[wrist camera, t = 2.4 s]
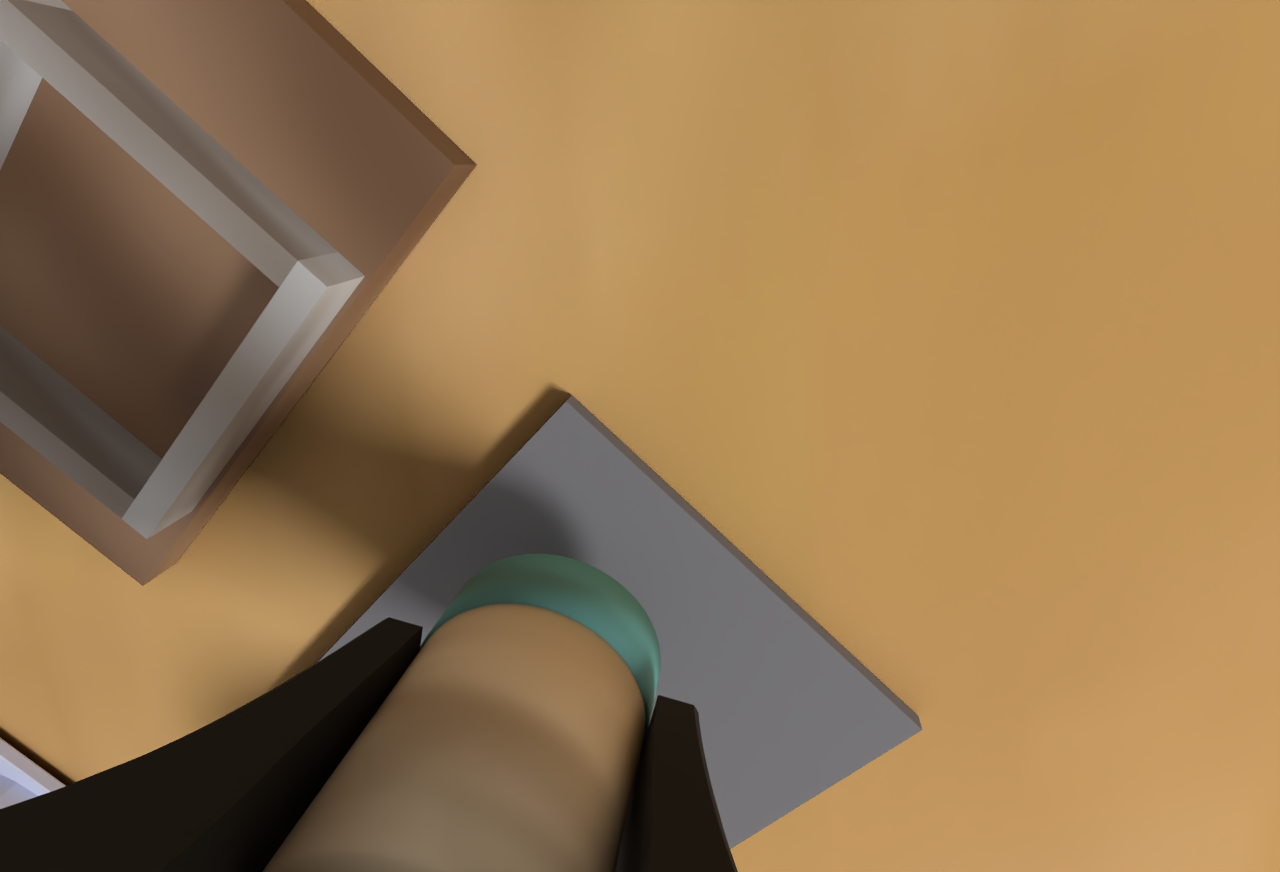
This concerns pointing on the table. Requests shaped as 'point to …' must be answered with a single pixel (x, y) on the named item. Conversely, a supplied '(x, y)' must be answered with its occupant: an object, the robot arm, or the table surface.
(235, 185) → the brown compartment tray
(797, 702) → the mat
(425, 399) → the table surface
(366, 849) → the cream teal cylinder
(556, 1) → the table surface
